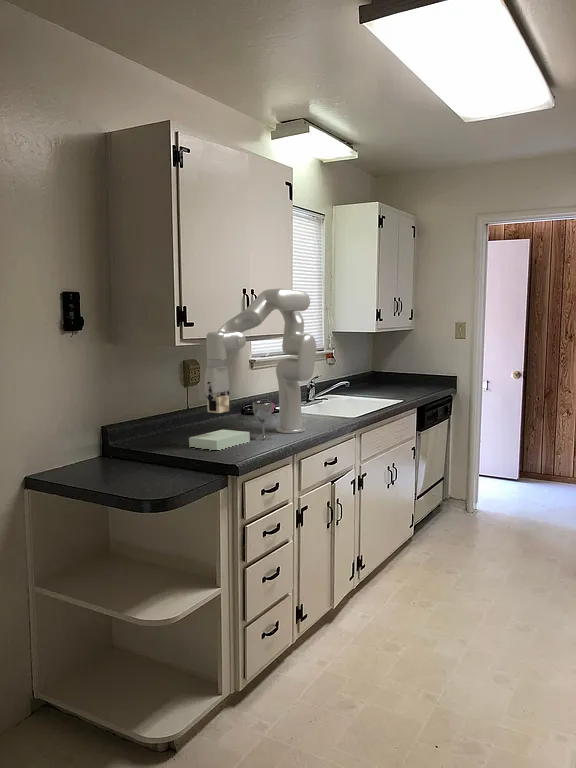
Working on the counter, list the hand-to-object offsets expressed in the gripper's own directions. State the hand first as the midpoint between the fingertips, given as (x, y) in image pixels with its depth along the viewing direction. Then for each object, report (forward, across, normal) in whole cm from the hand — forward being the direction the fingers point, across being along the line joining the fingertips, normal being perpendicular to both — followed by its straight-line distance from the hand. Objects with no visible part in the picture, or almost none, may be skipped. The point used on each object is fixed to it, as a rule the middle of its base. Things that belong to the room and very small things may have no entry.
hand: (218, 409), depth 244 cm
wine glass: (+14, -18, +8) cm, 25 cm away
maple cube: (+1, 0, 0) cm, 1 cm away
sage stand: (+14, 0, 0) cm, 14 cm away
